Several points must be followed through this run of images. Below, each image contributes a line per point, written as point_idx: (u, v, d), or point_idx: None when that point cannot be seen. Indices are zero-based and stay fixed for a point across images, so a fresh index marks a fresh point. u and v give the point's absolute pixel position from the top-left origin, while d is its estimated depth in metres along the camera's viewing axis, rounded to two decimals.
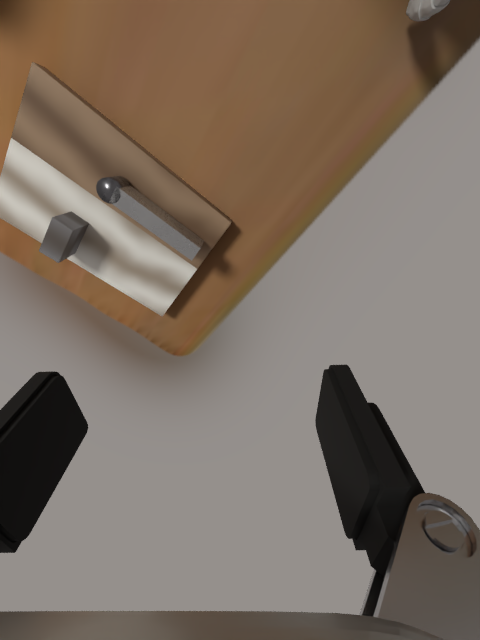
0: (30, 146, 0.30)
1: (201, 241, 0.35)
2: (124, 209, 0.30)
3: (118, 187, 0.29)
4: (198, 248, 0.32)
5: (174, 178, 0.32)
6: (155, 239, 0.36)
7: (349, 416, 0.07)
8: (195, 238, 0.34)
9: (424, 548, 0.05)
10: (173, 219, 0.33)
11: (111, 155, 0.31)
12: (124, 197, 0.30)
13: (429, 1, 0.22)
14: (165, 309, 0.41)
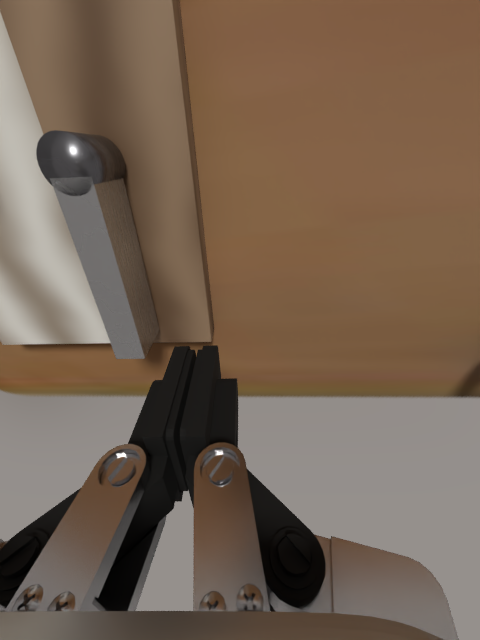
0: None
1: (155, 334, 0.20)
2: (70, 216, 0.13)
3: (93, 181, 0.13)
4: (141, 356, 0.18)
5: (197, 239, 0.18)
6: None
7: (193, 386, 0.08)
8: (150, 328, 0.19)
9: (212, 495, 0.06)
10: (143, 280, 0.18)
11: (134, 108, 0.14)
12: (89, 203, 0.13)
13: None
14: (17, 342, 0.23)
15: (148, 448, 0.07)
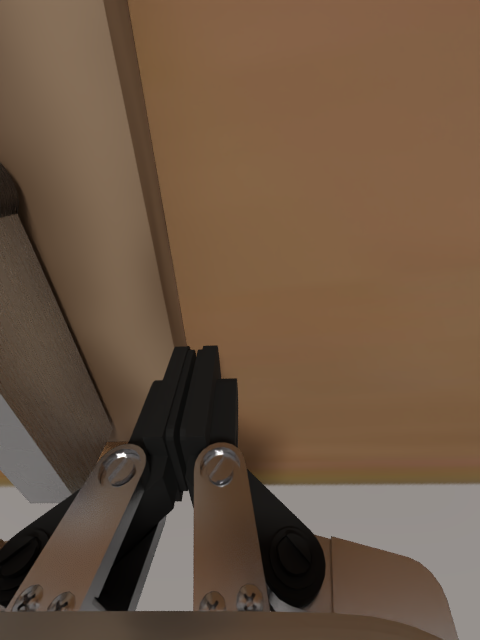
0: None
1: (102, 443, 0.13)
2: None
3: None
4: None
5: (162, 308, 0.11)
6: None
7: (193, 386, 0.08)
8: (92, 442, 0.12)
9: (212, 495, 0.06)
10: (75, 372, 0.11)
11: (20, 81, 0.07)
12: None
13: None
14: None
15: (148, 448, 0.07)
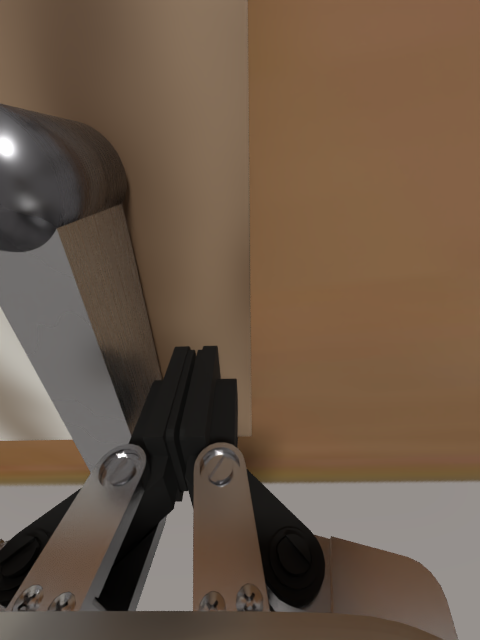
0: None
1: None
2: (7, 292, 0.06)
3: (55, 221, 0.05)
4: None
5: (246, 301, 0.10)
6: None
7: (193, 386, 0.08)
8: None
9: (211, 495, 0.06)
10: (152, 366, 0.11)
11: (148, 68, 0.07)
12: (48, 267, 0.06)
13: None
14: None
15: (148, 448, 0.07)
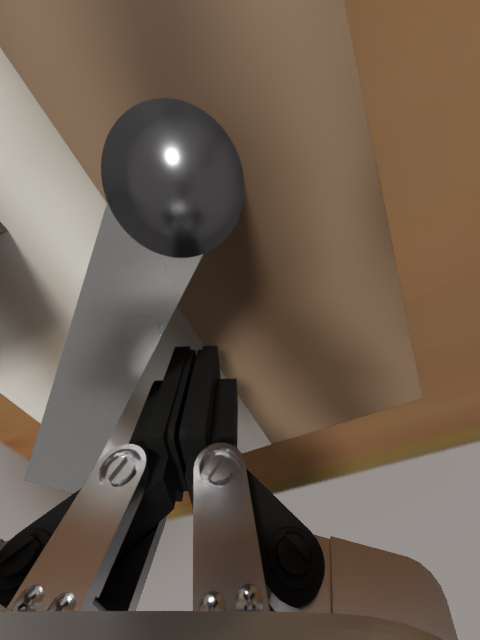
0: None
1: None
2: (104, 272, 0.06)
3: (206, 248, 0.05)
4: (76, 491, 0.10)
5: (386, 243, 0.09)
6: None
7: (192, 386, 0.08)
8: None
9: (211, 495, 0.06)
10: None
11: (234, 35, 0.07)
12: (165, 274, 0.06)
13: None
14: None
15: (149, 448, 0.07)
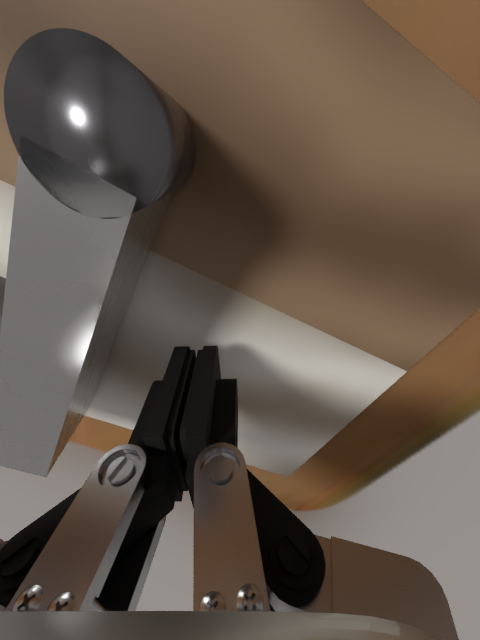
0: None
1: (82, 417, 0.12)
2: (29, 236, 0.05)
3: (134, 207, 0.05)
4: (41, 474, 0.10)
5: (391, 38, 0.07)
6: (281, 312, 0.11)
7: (193, 386, 0.08)
8: (79, 416, 0.11)
9: (212, 495, 0.06)
10: (110, 346, 0.10)
11: None
12: (94, 238, 0.05)
13: None
14: (297, 464, 0.16)
15: (148, 448, 0.07)
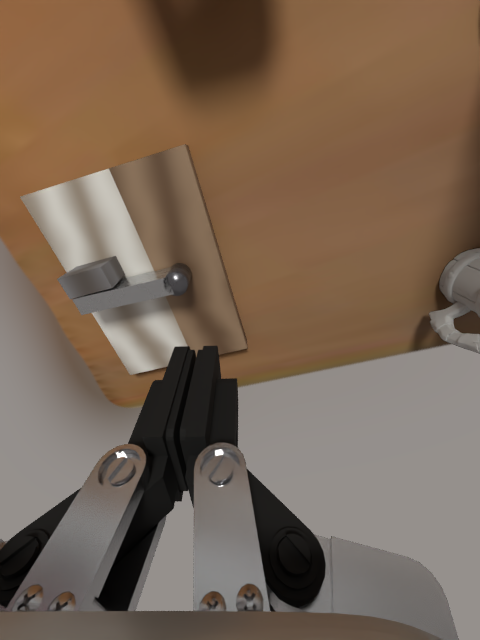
0: (121, 188, 0.27)
1: None
2: (153, 283, 0.28)
3: (172, 294, 0.29)
4: (82, 313, 0.30)
5: (230, 296, 0.34)
6: (176, 321, 0.35)
7: (193, 386, 0.08)
8: None
9: (211, 495, 0.06)
10: None
11: (193, 248, 0.30)
12: (162, 292, 0.29)
13: (446, 335, 0.33)
14: (138, 371, 0.39)
15: (148, 448, 0.07)
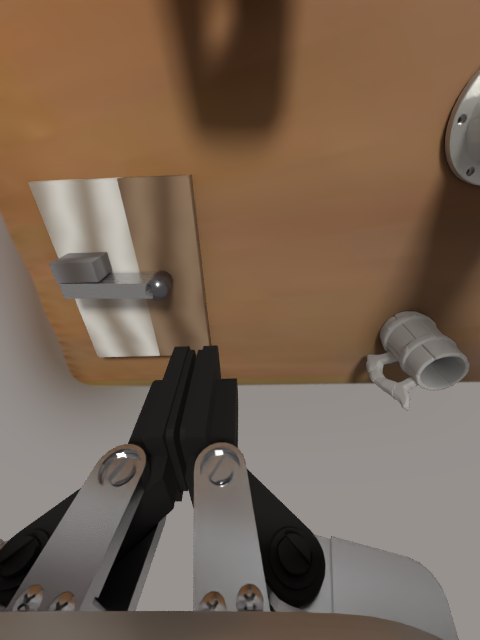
0: (125, 197, 0.30)
1: None
2: (136, 286, 0.32)
3: (151, 298, 0.33)
4: (65, 297, 0.33)
5: (203, 307, 0.38)
6: (151, 319, 0.39)
7: (193, 386, 0.08)
8: None
9: (212, 495, 0.06)
10: None
11: (178, 261, 0.34)
12: (143, 294, 0.33)
13: (374, 377, 0.39)
14: (106, 355, 0.42)
15: (148, 448, 0.07)
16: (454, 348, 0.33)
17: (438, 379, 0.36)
